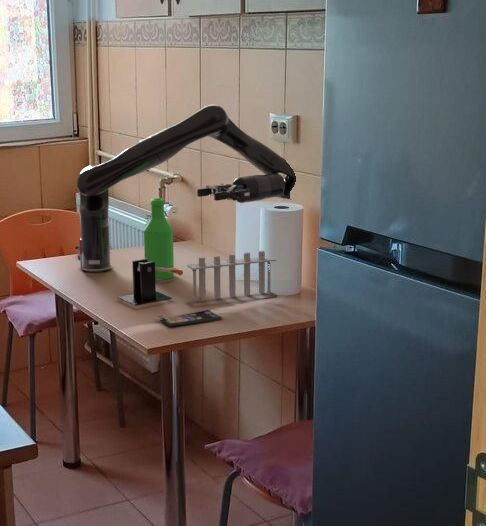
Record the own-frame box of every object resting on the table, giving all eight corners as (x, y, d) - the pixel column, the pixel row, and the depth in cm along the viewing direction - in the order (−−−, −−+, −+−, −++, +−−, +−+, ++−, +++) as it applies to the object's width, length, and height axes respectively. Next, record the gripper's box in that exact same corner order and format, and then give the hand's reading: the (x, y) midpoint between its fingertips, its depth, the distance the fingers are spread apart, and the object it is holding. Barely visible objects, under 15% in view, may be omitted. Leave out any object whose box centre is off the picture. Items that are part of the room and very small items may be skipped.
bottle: (171, 283, 279) (169, 201, 273) (143, 283, 281) (140, 201, 275) (175, 276, 288) (173, 196, 281) (147, 275, 289) (145, 196, 283)
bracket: (153, 294, 268) (152, 254, 266) (172, 302, 260) (171, 261, 257) (117, 301, 263) (116, 261, 260) (135, 309, 254) (134, 268, 251)
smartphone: (221, 319, 243) (221, 315, 242) (169, 328, 237) (169, 323, 237) (206, 311, 250) (206, 307, 250) (156, 320, 244) (156, 315, 244)
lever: (172, 273, 267) (174, 265, 267) (182, 277, 263) (183, 268, 263) (134, 269, 260) (135, 261, 260) (143, 273, 256) (145, 264, 256)
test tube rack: (192, 307, 254) (192, 260, 251) (187, 303, 258) (186, 257, 255) (276, 297, 260) (277, 251, 257) (270, 293, 264) (270, 248, 261)
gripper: (237, 173, 277) (192, 179, 270) (267, 178, 265) (220, 184, 258) (237, 197, 279) (192, 204, 271) (267, 204, 267) (221, 211, 259)
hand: (206, 194), depth 265 cm, fingers open, 8 cm apart
